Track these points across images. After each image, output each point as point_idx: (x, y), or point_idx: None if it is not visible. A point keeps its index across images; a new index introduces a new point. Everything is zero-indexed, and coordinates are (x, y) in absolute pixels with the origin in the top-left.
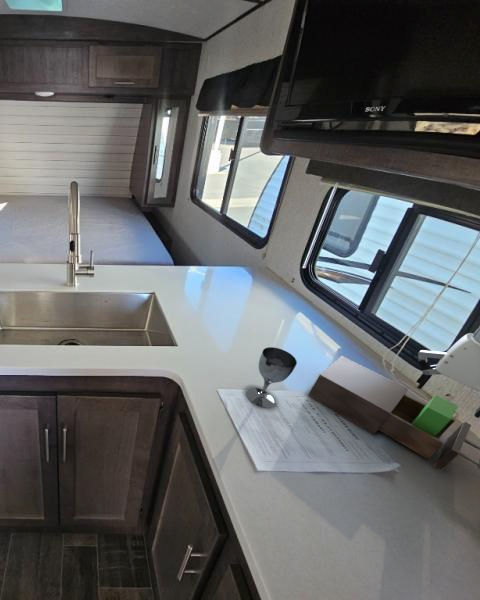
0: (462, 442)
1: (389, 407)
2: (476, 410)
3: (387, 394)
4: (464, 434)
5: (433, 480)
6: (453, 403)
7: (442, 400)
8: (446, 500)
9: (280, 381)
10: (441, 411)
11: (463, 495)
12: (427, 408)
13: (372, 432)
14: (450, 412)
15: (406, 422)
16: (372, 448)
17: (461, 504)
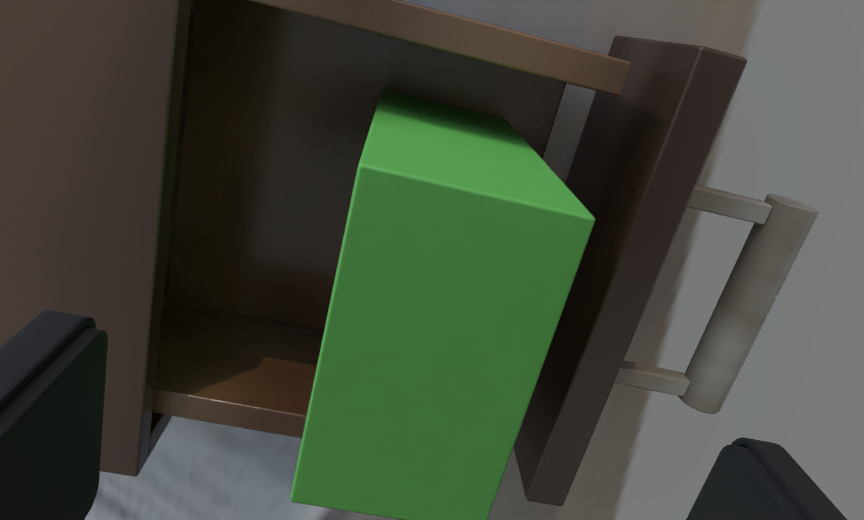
0: (609, 378)
1: (112, 407)
2: (718, 480)
3: (43, 213)
4: (647, 269)
5: None
6: (551, 208)
7: (434, 241)
8: (530, 513)
9: None
10: (408, 480)
11: (602, 439)
12: (296, 496)
13: None
14: (491, 428)
15: (269, 424)
16: (238, 436)
17: (583, 493)
